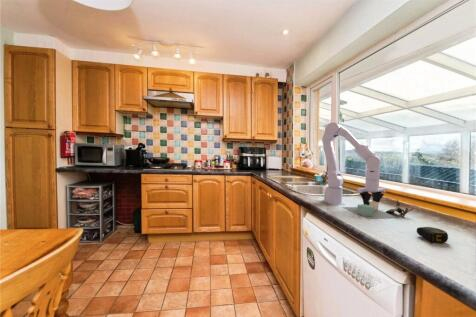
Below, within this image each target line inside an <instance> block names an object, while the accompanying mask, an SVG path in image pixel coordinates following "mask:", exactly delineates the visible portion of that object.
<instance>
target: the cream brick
mask: <svg viewBox="0 0 476 317" xmlns="http://www.w3.org/2000/svg"><path fill="white" fill-rule="evenodd" d="M363 204H364V203H363ZM379 204H380V201H379V202H376V201H373V199H370V200H369V206H372V207H374V210H379Z"/></svg>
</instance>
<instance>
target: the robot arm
mask: <svg viewBox="0 0 476 317" xmlns="http://www.w3.org/2000/svg"><path fill="white" fill-rule="evenodd" d="M339 136H340V137H343V138H344V139H345V140H346V141H347V142H349V144H350V145H352V147H353V148H354V152H355V153H356V154H357V155H358V156H359V157H360V158H361V159H362V160H363V161H365V165H366V170H365V171H366V172H365V186H364V187H357V191H356V192H357V193H359V195H360V197H361V199H362V202H363V203H364V204H366V205H369V200H371V198H372V200H373V201H376V202H379V203H380V201H381V199H382V198H383V197H384V195H385V193H386V192H387V189H386V188H384V187H380V174H381V171H380V169H381V167H380V165H381V163H382V160H381V158H380V156H379V155H377V154H376V152H373V151H372V150H371V149H370V146H369V145H368V144H365V143H360V142H359V140H357V139H356V138H355V136H354V135H353V134H352V133H351V132H350V131H349V130H348V129H347V128H345V127H343V125H342V124H340V123H337V122H333V121H332V122H329V123H328V124H327V125H326V127H324V133H323V136H322V138H321V141H322V147H323V151H324V156H325V159H326V165H327V170H328V172H327V181H326V182H327V186H326V187H325V189H324V194H323V195H324V196H323V197H324V198H323V200H322V201H323V202H324V203H327V204H329V205H332V206H338V205H339V206H342V205H343V206H345V205H346V203H344V202H343V189H344V188H343V184H344V183H345V180H344V177H343V176H342V173H341V171H340V169H339V165H338V161H337V156H336V153H335V148H334V143H333V142H334V140H335V139H336V138H337V137H339Z"/></svg>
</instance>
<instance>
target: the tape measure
mask: <svg viewBox="0 0 476 317" xmlns="http://www.w3.org/2000/svg"><path fill="white" fill-rule="evenodd" d="M416 233H417V235H418V236H420V237H422V238H424V239H425V240H427V241H429V242H431V243H443V244H444V243H446V242H448V241H449V240H448V239H449V234H448V232H447V231H446V230H444V229H441V228H438V227H433V226H421V227H417V228H416Z"/></svg>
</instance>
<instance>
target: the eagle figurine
mask: <svg viewBox="0 0 476 317" xmlns="http://www.w3.org/2000/svg"><path fill="white" fill-rule="evenodd" d="M413 210H414V207H412V208H410V209H409V208H408V207H407V206H406V208H405V210H404V208H403V209H402V208H401V204H400V202H399V199H397V200H396V203H395V208H390V209H388V210H386V211H385V212H386V213H394V212H395V213H396V212H397V213H398V214H399V215H401V218H404V217H405V216H406V215H407V214H408V213H409V212H411V211H413Z"/></svg>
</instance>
